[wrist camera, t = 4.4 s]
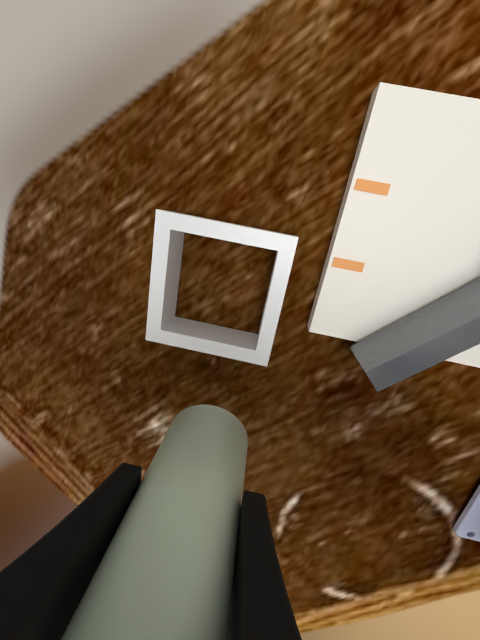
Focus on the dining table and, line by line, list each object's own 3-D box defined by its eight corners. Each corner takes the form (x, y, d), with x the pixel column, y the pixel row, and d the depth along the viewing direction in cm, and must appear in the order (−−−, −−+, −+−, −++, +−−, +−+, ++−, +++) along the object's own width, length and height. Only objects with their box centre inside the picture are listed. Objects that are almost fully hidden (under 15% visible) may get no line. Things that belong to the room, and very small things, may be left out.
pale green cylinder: (254, 414, 12) (205, 946, 3) (240, 477, 13) (176, 998, 4) (172, 397, 12) (-94, 858, 3) (166, 461, 13) (-44, 928, 4)
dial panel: (658, 141, 13) (692, 134, 12) (524, 371, 17) (541, 381, 16) (372, 92, 14) (381, 81, 12) (307, 325, 17) (309, 332, 16)
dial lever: (568, 199, 13) (651, 191, 10) (596, 273, 14) (680, 285, 11) (337, 326, 16) (351, 349, 13) (371, 381, 17) (391, 413, 14)
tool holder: (294, 235, 16) (298, 237, 14) (267, 348, 18) (267, 366, 16) (173, 211, 16) (156, 209, 14) (161, 325, 18) (145, 339, 16)
